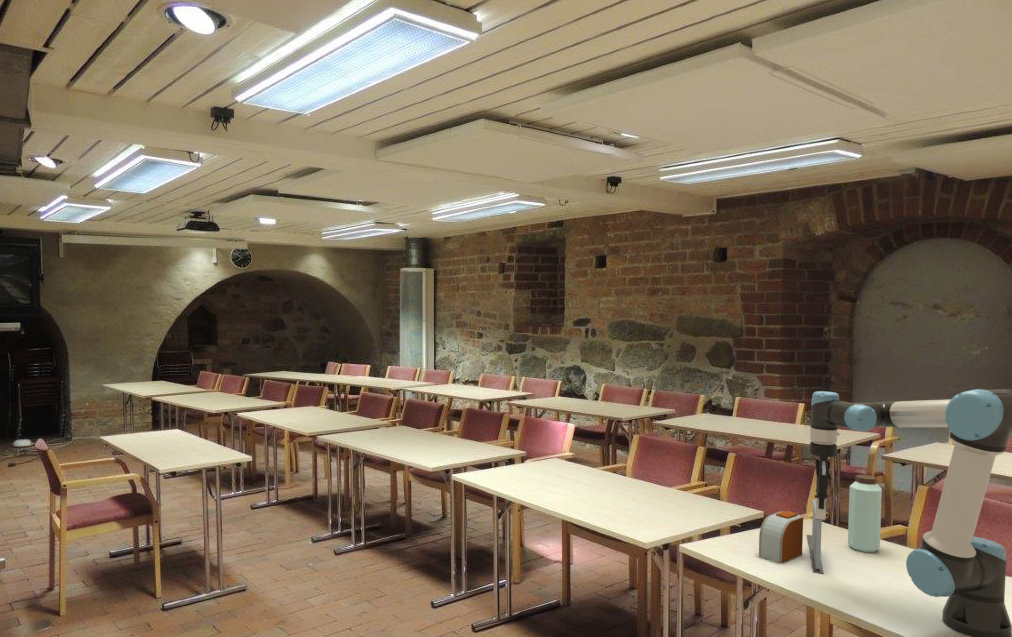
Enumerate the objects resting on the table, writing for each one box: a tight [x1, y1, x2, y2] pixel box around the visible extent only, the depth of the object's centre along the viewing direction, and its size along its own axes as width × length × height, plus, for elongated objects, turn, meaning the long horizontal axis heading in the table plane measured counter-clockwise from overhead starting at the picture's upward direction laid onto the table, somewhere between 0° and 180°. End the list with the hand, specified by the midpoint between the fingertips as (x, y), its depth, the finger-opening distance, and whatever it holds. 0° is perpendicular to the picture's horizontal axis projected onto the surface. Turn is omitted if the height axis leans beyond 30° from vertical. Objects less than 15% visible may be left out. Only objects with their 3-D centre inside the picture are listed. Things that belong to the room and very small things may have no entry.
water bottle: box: [847, 474, 883, 553], centre depth 243 cm, size 10×10×25 cm
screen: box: [811, 499, 824, 569], centre depth 231 cm, size 22×2×16 cm, turn 160°
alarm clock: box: [758, 510, 804, 564], centre depth 235 cm, size 15×8×14 cm, turn 130°
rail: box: [806, 534, 825, 575], centre depth 237 cm, size 39×3×1 cm, turn 160°
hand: (820, 518), depth 215 cm, fingers closed
